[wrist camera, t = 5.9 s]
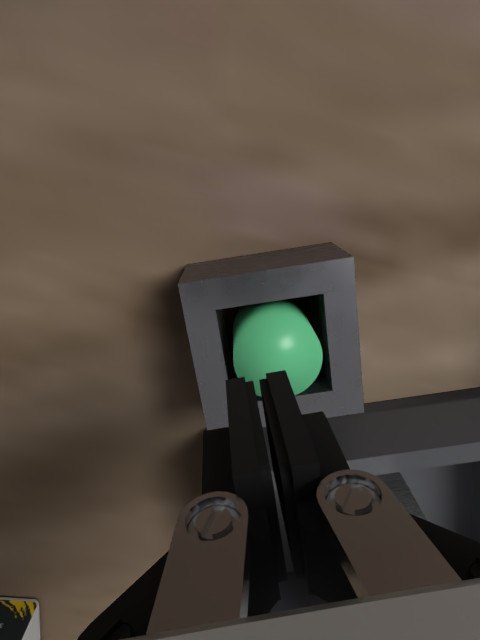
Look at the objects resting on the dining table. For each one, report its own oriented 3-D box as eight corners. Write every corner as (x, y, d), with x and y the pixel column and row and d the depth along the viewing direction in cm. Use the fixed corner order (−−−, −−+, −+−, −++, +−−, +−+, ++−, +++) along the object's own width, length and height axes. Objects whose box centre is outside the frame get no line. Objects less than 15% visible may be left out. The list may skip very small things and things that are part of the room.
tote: (208, 426, 24) (204, 480, 20) (483, 386, 23) (539, 433, 19) (239, 576, 27) (240, 651, 23) (478, 544, 27) (525, 614, 23)
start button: (227, 299, 20) (226, 323, 17) (303, 288, 20) (318, 310, 17) (238, 369, 21) (240, 404, 18) (311, 358, 21) (326, 392, 18)
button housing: (187, 264, 21) (177, 283, 17) (331, 242, 21) (353, 256, 17) (211, 392, 23) (208, 434, 19) (342, 373, 23) (364, 412, 19)
